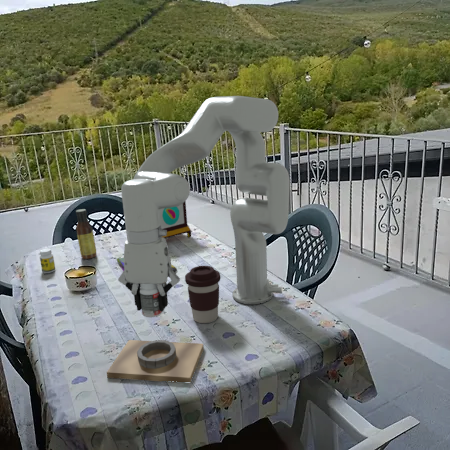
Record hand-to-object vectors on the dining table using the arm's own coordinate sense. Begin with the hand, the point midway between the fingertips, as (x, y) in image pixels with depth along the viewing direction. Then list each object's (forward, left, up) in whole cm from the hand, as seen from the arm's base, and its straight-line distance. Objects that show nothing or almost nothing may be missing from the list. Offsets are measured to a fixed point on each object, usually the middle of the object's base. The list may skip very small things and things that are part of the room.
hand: (151, 307), depth 105 cm
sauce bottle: (+52, -69, -15) cm, 88 cm away
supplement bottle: (+61, -54, -15) cm, 83 cm away
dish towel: (+24, -60, -16) cm, 66 cm away
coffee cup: (-7, -23, -15) cm, 28 cm away
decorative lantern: (+27, -94, -15) cm, 99 cm away
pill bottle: (0, 0, -2) cm, 2 cm away
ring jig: (0, 0, -15) cm, 15 cm away
